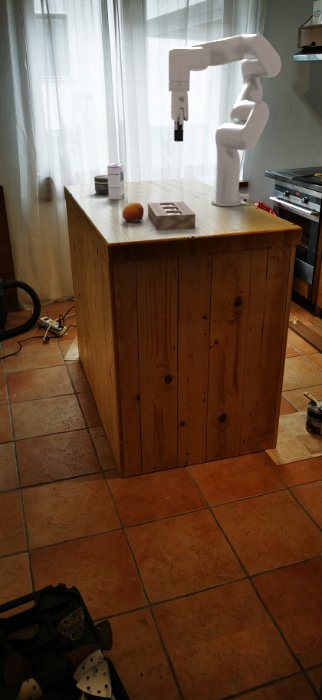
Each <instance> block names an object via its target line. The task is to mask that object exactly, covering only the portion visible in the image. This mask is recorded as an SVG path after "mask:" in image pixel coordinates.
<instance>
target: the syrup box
mask: <svg viewBox="0 0 322 700" xmlns="http://www.w3.org/2000/svg"><path fill="white" fill-rule="evenodd" d="M106 168H107V169H106V170H107V175H108V189H109V195H108V199H109V200H122V199H123V198H125V177H124V175H125V174H124V164H123V163H118V162H116V163H110V164H108V165H107V166H106Z"/></svg>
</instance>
